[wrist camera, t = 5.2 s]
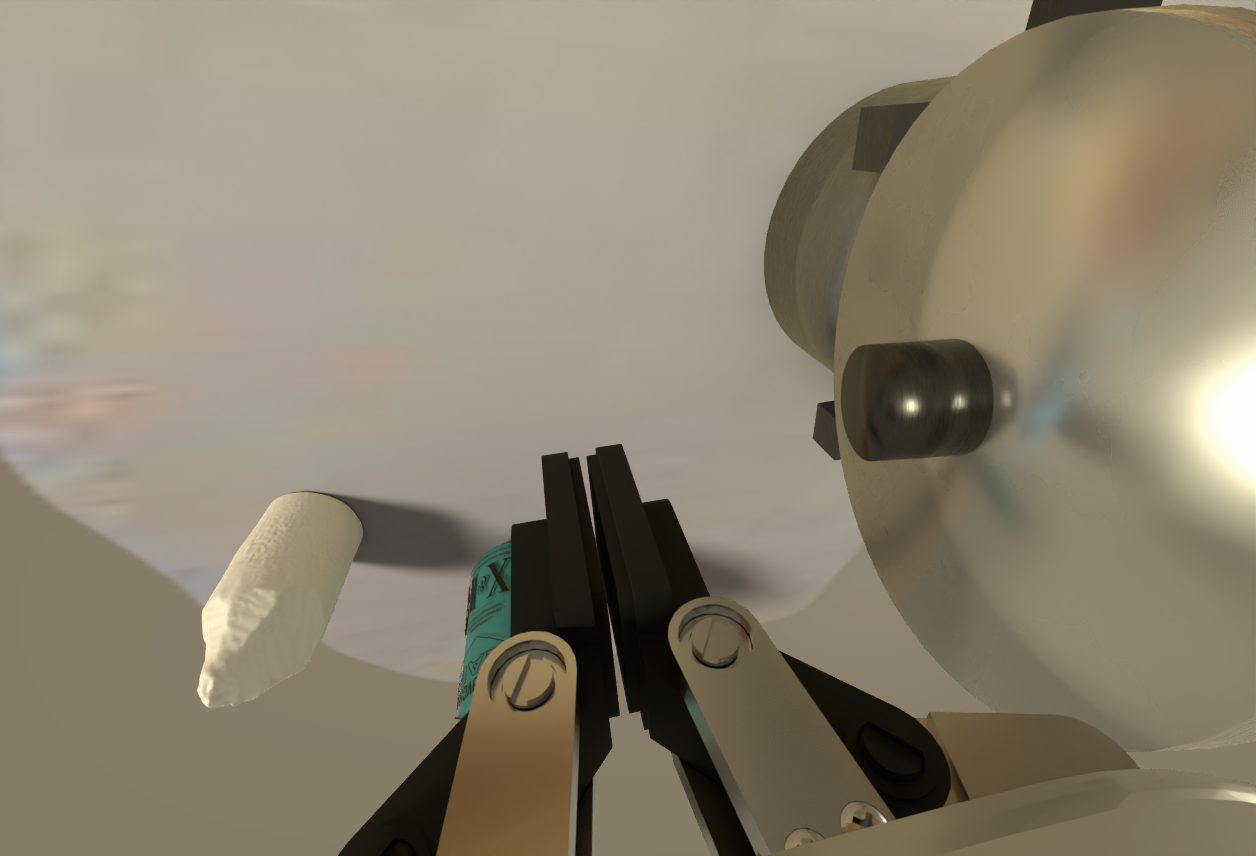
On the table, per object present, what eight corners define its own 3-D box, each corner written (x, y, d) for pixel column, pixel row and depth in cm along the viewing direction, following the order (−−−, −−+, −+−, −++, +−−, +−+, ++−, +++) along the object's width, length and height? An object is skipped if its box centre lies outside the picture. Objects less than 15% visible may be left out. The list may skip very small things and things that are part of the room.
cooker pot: (759, 42, 24) (918, -18, 15) (1064, 25, 26) (1373, -37, 17) (739, 406, 34) (825, 510, 25) (960, 372, 37) (1116, 454, 27)
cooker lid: (912, 60, 17) (803, 69, 17) (2563, -313, 3) (1815, -247, 3) (838, 465, 25) (766, 470, 25) (1123, 900, 11) (956, 908, 11)
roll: (326, 705, 24) (231, 755, 24) (382, 534, 34) (314, 572, 35) (215, 642, 21) (109, 701, 21) (313, 475, 31) (240, 517, 31)
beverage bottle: (577, 541, 38) (628, 873, 21) (533, 599, 40) (546, 944, 23) (497, 511, 35) (481, 866, 18) (454, 575, 37) (404, 947, 20)
